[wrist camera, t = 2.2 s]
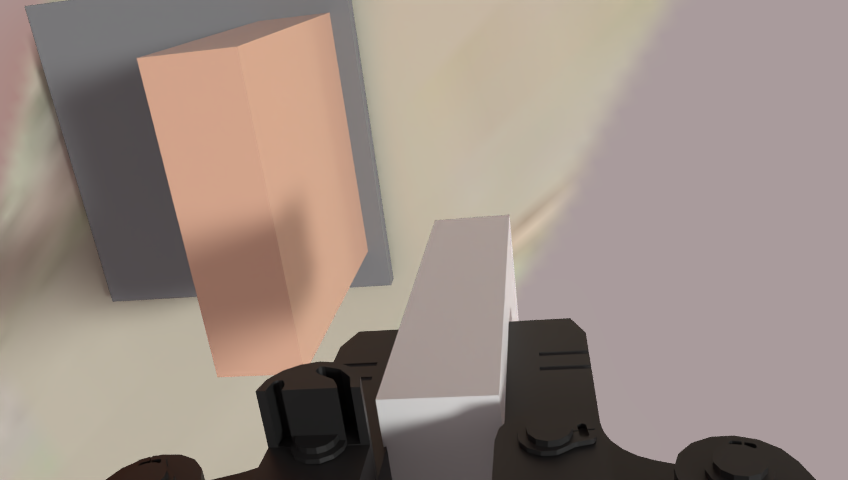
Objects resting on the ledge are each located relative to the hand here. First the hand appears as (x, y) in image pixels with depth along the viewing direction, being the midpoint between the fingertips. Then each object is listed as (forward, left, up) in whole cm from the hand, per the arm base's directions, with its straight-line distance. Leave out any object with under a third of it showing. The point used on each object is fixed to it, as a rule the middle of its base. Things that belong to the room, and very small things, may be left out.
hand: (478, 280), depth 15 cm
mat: (+11, 0, -13) cm, 17 cm away
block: (+7, 0, -13) cm, 14 cm away
